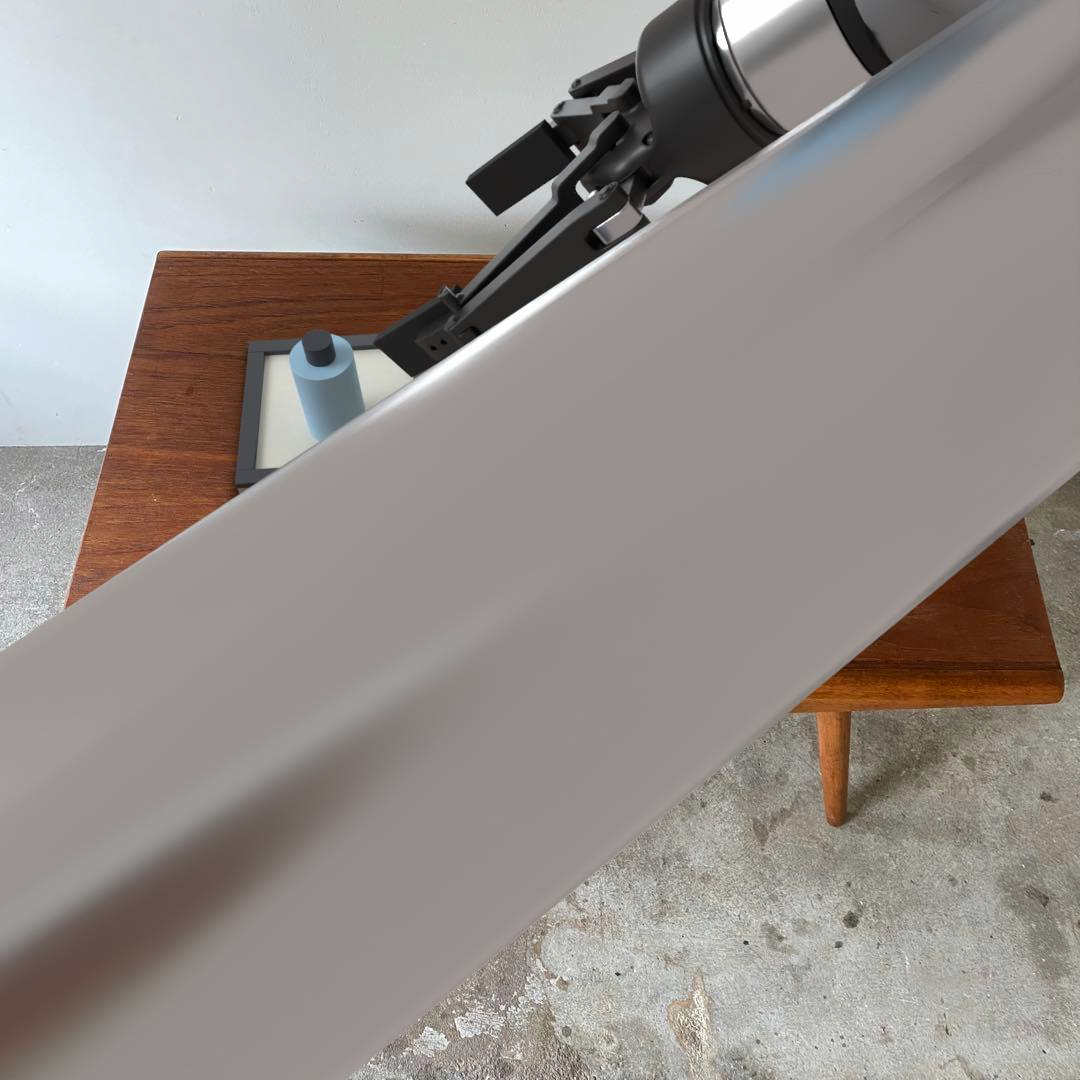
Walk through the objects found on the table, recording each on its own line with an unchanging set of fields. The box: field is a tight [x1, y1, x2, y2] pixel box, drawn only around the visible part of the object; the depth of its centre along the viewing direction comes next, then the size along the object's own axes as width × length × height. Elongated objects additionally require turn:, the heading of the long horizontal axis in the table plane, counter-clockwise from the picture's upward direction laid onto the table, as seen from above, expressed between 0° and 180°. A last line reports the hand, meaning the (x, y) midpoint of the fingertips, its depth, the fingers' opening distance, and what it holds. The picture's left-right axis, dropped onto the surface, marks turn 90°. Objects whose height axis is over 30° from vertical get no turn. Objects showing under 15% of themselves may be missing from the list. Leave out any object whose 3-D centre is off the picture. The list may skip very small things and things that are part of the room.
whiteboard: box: [234, 333, 431, 495], centre depth 93 cm, size 18×18×2 cm
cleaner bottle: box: [289, 329, 366, 441], centre depth 87 cm, size 6×6×11 cm
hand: (441, 270), depth 53 cm, fingers open, 13 cm apart
